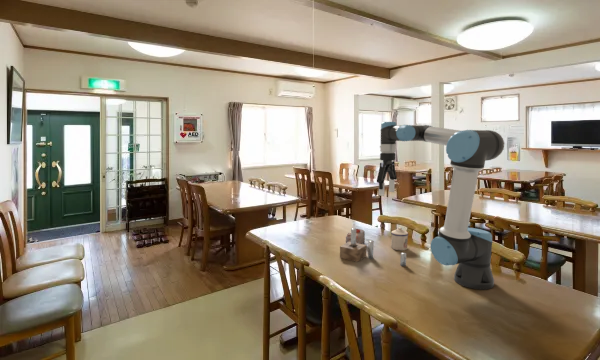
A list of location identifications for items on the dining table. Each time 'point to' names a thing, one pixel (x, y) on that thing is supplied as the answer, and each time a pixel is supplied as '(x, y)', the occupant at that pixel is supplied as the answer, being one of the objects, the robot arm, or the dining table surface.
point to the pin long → (353, 237)
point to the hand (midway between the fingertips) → (386, 193)
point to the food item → (357, 236)
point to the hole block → (353, 252)
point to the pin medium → (370, 249)
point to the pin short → (403, 259)
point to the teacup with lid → (399, 239)
